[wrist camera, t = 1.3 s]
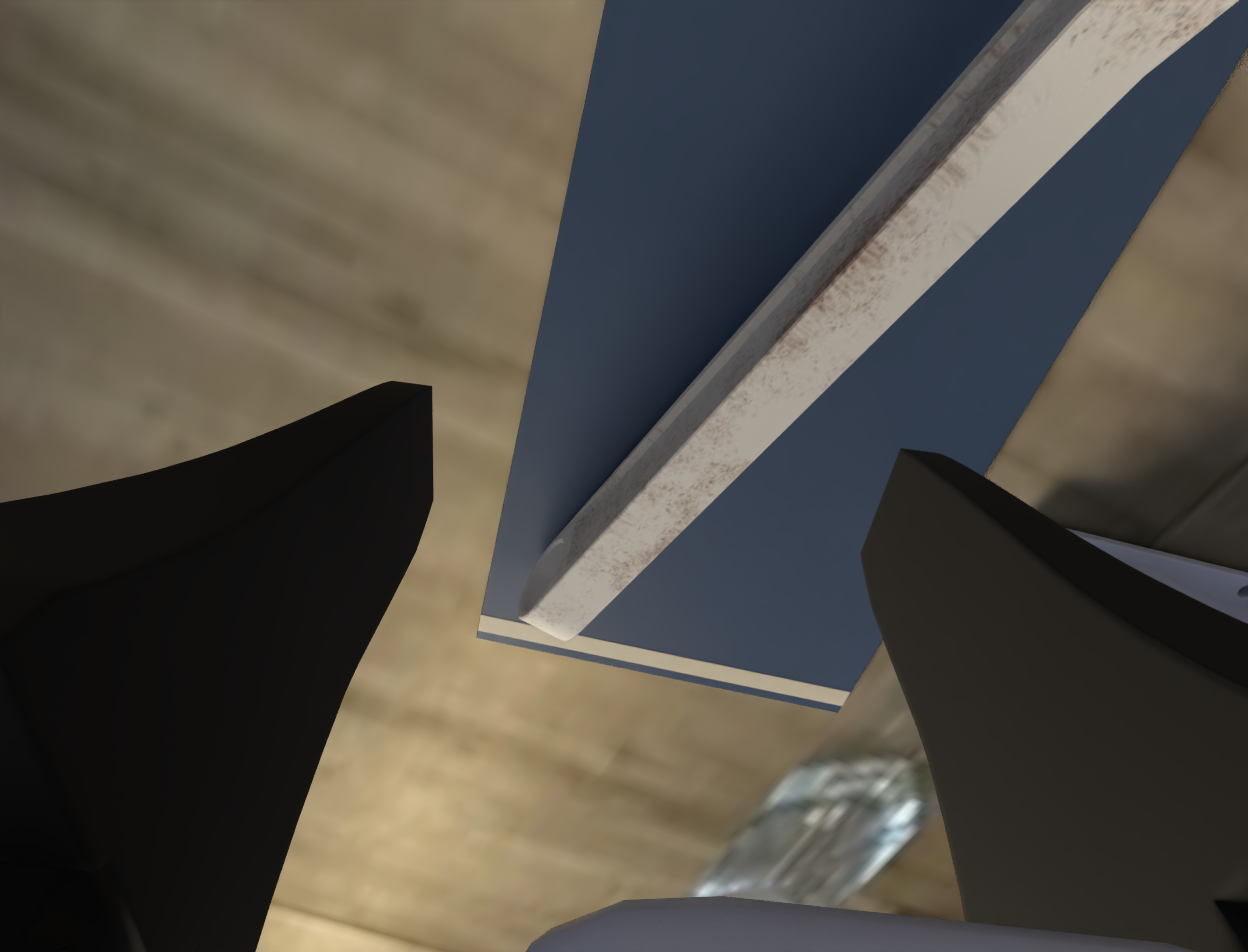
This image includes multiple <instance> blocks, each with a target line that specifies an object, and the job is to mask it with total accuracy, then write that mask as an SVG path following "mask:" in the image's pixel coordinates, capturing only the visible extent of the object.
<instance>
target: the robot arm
mask: <svg viewBox="0 0 1248 952" xmlns="http://www.w3.org/2000/svg"><path fill="white" fill-rule="evenodd" d="M432 502H433V423H432V386H427V385H420V384H412V383H405V382H397V381H389V382H386V383H382V384H379V385H377V386H374V387H372V388H369V389H367V390H365V391H362V392H360V393H358V394H355V395H353V396H351V397H349V398H347V399H344V400H342V401H340V402H338V403H336V404H333V405H331V406H329V407H327V408H324V409H322V410H320V411H318V412H315V413H313V414H311V415H309V416H306V417H304V418H302V419H300V420H297V421H295V422H293V423H290V424H288V425H285V426H283V427H280V428H278V429H275V430H273V431H270V432H268V433H265V434H262V435H260V436H257V437H255V438H252V439H250V440H247V441H245V442H242V443H240V444H237V445H235V446H232V447H229V448H226V449H223V450H220V451H218V452H214V453H211V454H208V455H205V456H202V457H199V458H196V459H193V460H189V461H186V462H182V463H179V464H176V465H172V466H169V467H165V468H162V469H159V470H155V471H151V472H147V473H144V474H140V475H135V476H131V477H126V478H122V479H117V480H113V481H108V482H104V483H100V484H95V485H91V486H86V487H82V488H77V489H73V490H68V491H64V492H59V493H54V494H49V495H43V496H38V497H32V498H26V499H20V500H14V501H9V502H3V503H0V952H255V951H256V948H257V945H258V942H259V939H260V935H261V932H262V929H263V926H264V922H265V919H266V916H267V913H268V910H269V906H270V903H271V900H272V897H273V894H274V891H275V888H276V885H277V882H278V879H279V876H280V873H281V870H282V867H283V864H284V861H285V858H286V855H287V852H288V849H289V846H290V843H291V840H292V837H293V834H294V831H295V828H296V825H297V822H298V820H299V817H300V814H301V811H302V808H303V806H304V803H305V800H306V797H307V794H308V792H309V789H310V786H311V783H312V780H313V778H314V775H315V772H316V769H317V766H318V764H319V761H320V758H321V755H322V752H323V750H324V747H325V745H326V742H327V739H328V737H329V734H330V731H331V729H332V726H333V724H334V721H335V718H336V716H337V713H338V710H339V708H340V705H341V703H342V700H343V697H344V695H345V692H346V690H347V688H348V686H349V683H350V681H351V679H352V677H353V675H354V672H355V670H356V668H357V666H358V664H359V662H360V660H361V658H362V656H363V654H364V652H365V650H366V648H367V646H368V645H369V643H370V641H371V639H372V637H373V635H374V633H375V631H376V629H377V627H378V625H379V623H380V621H381V619H382V617H383V615H384V614H385V612H386V610H387V608H388V606H389V604H390V602H391V600H392V598H393V596H394V594H395V592H396V590H397V588H398V586H399V584H400V582H401V580H402V578H403V577H404V575H405V573H406V571H407V569H408V567H409V565H410V563H411V561H412V559H413V557H414V554H415V552H416V550H417V547H418V544H419V542H420V539H421V536H422V533H423V530H424V527H425V524H426V521H427V518H428V515H429V512H430V509H431V506H432ZM860 555H861V560H862V565H863V571H864V576H865V582H866V586H867V591H868V595H869V599H870V604H871V608H872V610H873V613H874V616H875V619H876V622H877V624H878V627H879V630H880V632H881V635H882V638H883V641H884V643H885V646H886V649H887V651H888V654H889V656H890V659H891V662H892V664H893V667H894V669H895V672H896V675H897V677H898V680H899V682H900V685H901V687H902V690H903V693H904V695H905V698H906V700H907V703H908V706H909V708H910V711H911V713H912V716H913V719H914V721H915V724H916V726H917V729H918V732H919V735H920V738H921V741H922V744H923V747H924V750H925V753H926V756H927V759H928V762H929V766H930V770H931V774H932V778H933V782H934V785H935V789H936V793H937V797H938V801H939V805H940V809H941V812H942V816H943V820H944V824H945V829H946V833H947V837H948V842H949V846H950V851H951V855H952V860H953V864H954V868H955V873H956V877H957V882H958V886H959V890H960V895H961V900H962V906H963V911H964V916H965V921H966V922H962V921H952V920H943V919H933V918H924V917H914V916H905V915H896V914H886V913H877V912H867V911H858V910H848V909H839V908H829V907H820V906H810V905H801V904H791V903H782V902H772V901H763V900H753V899H743V898H734V897H725V896H716V897H691V898H665V899H640V900H624V901H621V902H618V903H616V904H613V905H611V906H608V907H606V908H603V909H600V910H598V911H595V912H593V913H590V914H587V915H585V916H582V917H580V918H577V919H575V920H572V921H569V922H567V923H564V924H562V925H559V926H556V927H554V928H551V929H550V930H548V931H547V932H546V933H545V934H543V935H542V936H541V937H539V938H538V939H537V940H535V941H534V942H533V943H531V945H530V946H529V948H528V949H527V951H526V952H1248V572H1244V571H1240V570H1235V569H1231V568H1227V567H1223V566H1219V565H1215V564H1211V563H1207V562H1203V561H1199V560H1195V559H1190V558H1186V557H1182V556H1178V555H1174V554H1170V553H1166V552H1162V551H1158V550H1154V549H1150V548H1145V547H1141V546H1137V545H1133V544H1129V543H1125V542H1121V541H1117V540H1113V539H1109V538H1105V537H1100V536H1096V535H1092V534H1088V533H1084V532H1080V531H1076V530H1072V529H1068V528H1064V527H1063V526H1061V525H1059V524H1058V523H1056V522H1055V521H1053V520H1051V519H1050V518H1048V517H1047V516H1045V515H1043V514H1042V513H1040V512H1039V511H1037V510H1036V509H1034V508H1032V507H1031V506H1029V505H1028V504H1026V503H1024V502H1023V501H1021V500H1020V499H1018V498H1017V497H1015V496H1014V495H1012V494H1010V493H1009V492H1007V491H1006V490H1004V489H1002V488H1001V487H999V486H998V485H996V484H995V483H993V482H991V481H990V480H988V479H987V478H985V477H983V476H982V475H980V474H978V473H977V472H975V471H973V470H972V469H970V468H968V467H967V466H965V465H963V464H961V463H959V462H957V461H955V460H954V459H952V458H949V457H947V456H945V455H943V454H940V453H935V452H927V451H920V450H912V449H905V448H900V451H899V453H898V456H897V458H896V461H895V464H894V466H893V469H892V472H891V474H890V477H889V479H888V482H887V485H886V487H885V490H884V493H883V495H882V498H881V500H880V503H879V506H878V508H877V511H876V514H875V516H874V519H873V521H872V524H871V527H870V529H869V532H868V534H867V537H866V540H865V542H864V545H863V548H862V550H861V553H860Z"/></svg>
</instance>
